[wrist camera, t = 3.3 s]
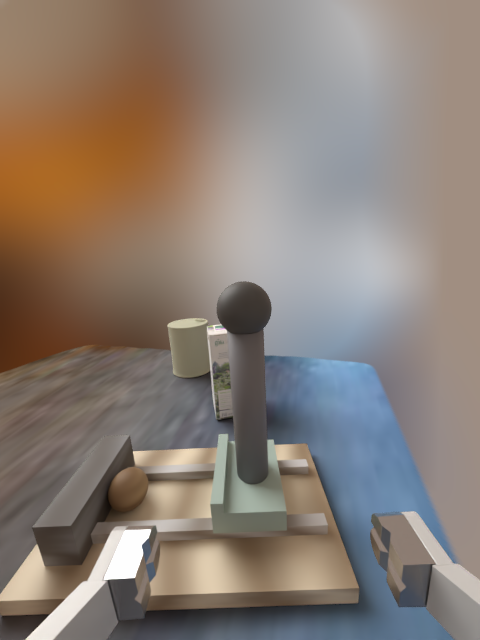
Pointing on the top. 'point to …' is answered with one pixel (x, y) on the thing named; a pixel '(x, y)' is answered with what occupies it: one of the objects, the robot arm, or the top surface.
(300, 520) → the press frame
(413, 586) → the robot arm
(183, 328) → the can
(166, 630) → the top surface
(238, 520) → the press handle
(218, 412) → the syrup box
